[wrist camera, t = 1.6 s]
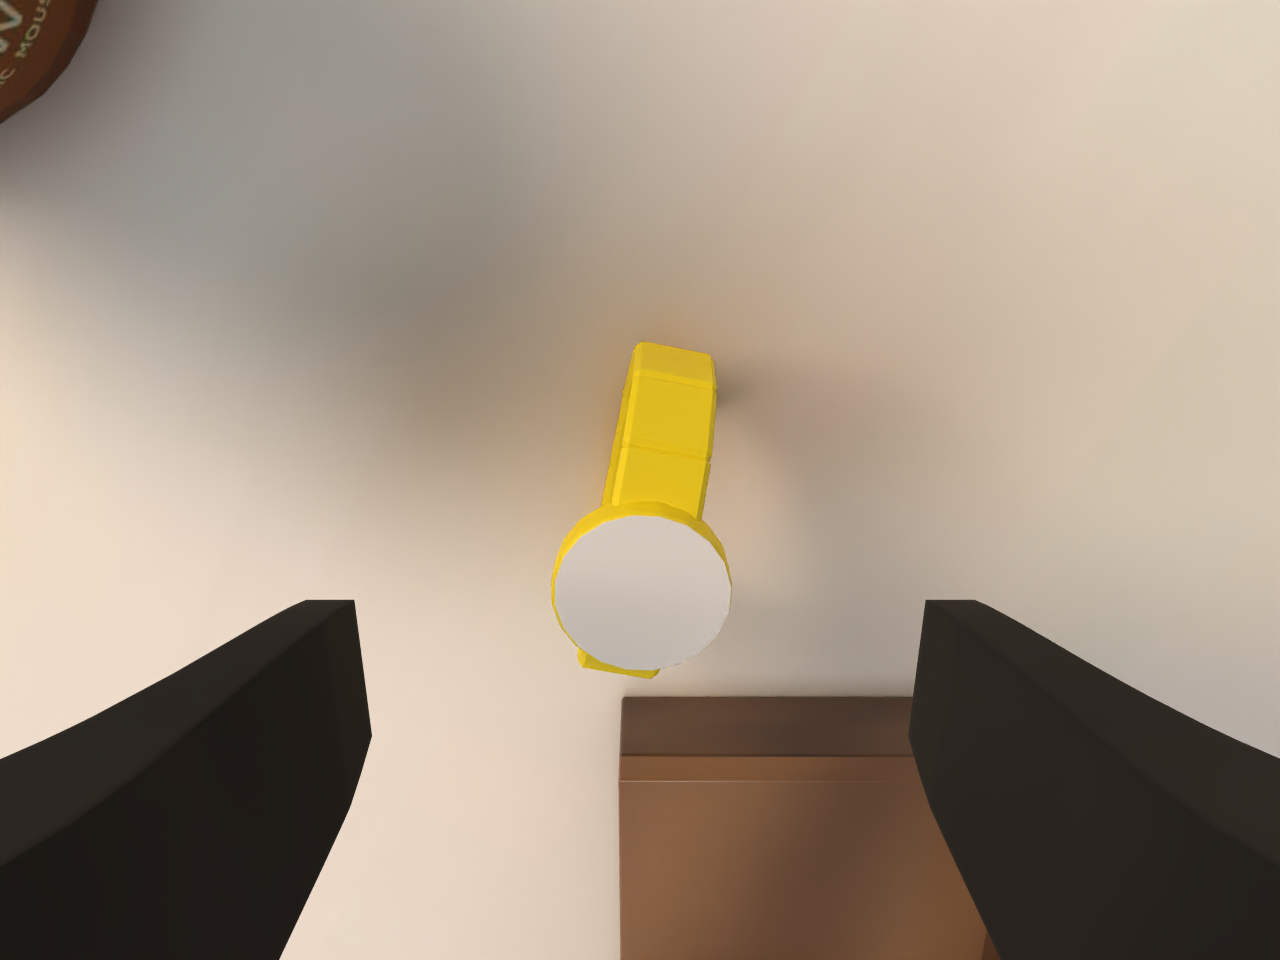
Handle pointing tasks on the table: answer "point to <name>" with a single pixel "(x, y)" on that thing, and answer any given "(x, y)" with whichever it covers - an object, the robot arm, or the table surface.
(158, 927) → the robot arm
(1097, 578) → the table surface
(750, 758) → the step shelf
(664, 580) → the watch
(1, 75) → the food container
